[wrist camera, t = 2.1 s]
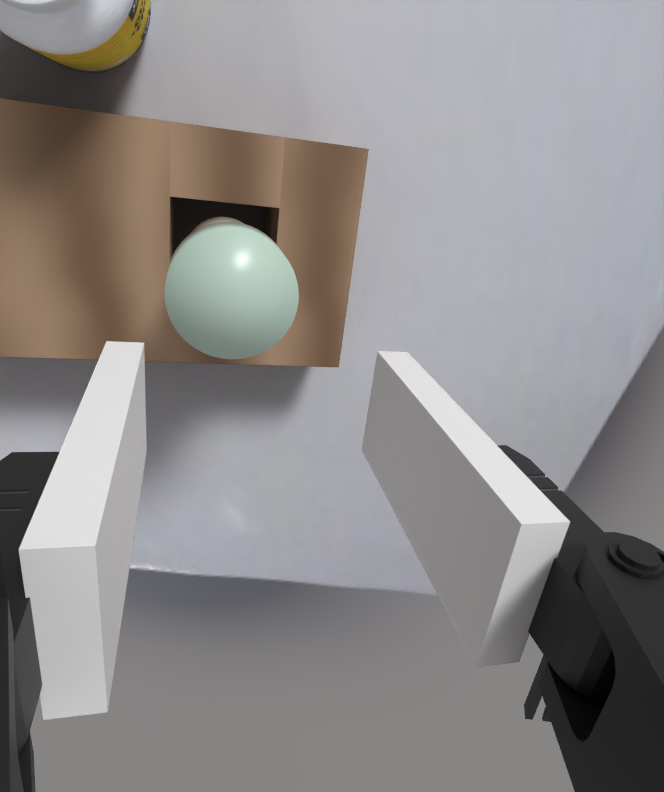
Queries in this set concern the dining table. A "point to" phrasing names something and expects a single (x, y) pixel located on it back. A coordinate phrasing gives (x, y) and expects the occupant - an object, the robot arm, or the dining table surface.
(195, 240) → the knob
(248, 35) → the dining table surface
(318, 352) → the mount
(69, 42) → the pill bottle
